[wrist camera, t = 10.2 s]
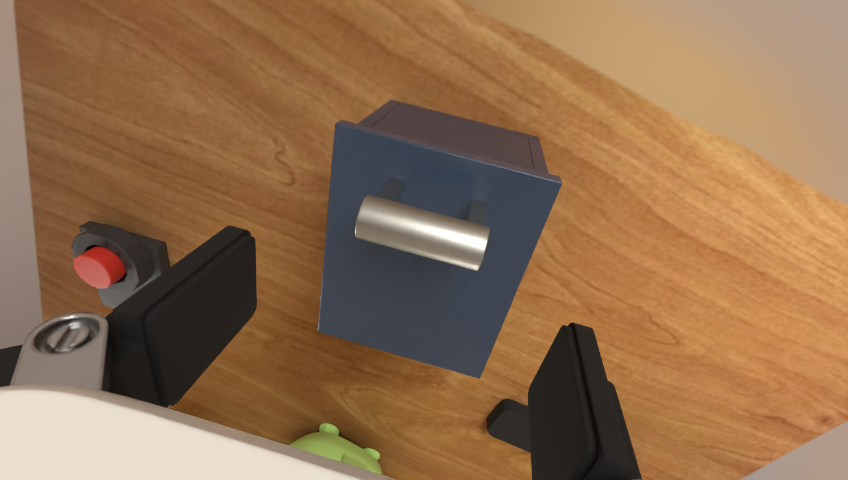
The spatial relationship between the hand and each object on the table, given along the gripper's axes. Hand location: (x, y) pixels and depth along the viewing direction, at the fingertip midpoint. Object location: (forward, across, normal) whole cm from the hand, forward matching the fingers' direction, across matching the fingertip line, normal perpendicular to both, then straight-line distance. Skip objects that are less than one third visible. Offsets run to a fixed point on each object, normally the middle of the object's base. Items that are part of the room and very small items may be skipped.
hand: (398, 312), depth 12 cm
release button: (+16, +29, +19) cm, 38 cm away
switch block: (+19, +29, +22) cm, 41 cm away
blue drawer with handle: (+9, 0, +4) cm, 10 cm away
